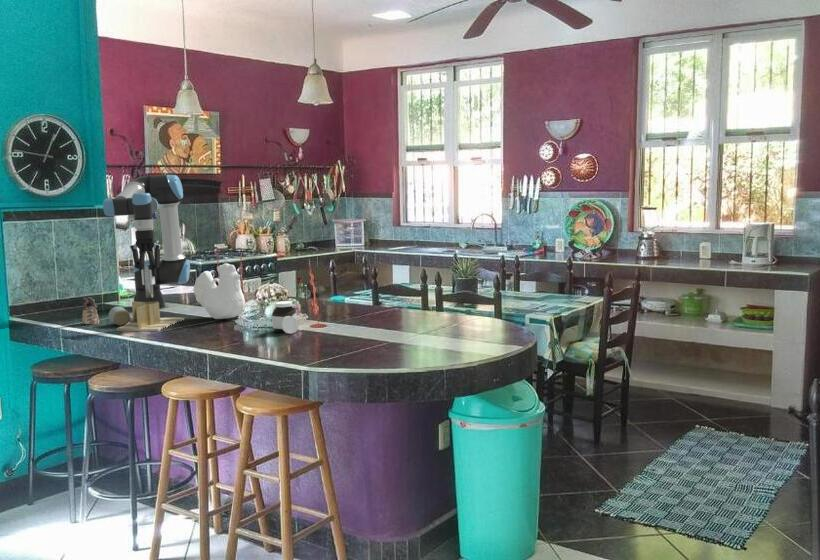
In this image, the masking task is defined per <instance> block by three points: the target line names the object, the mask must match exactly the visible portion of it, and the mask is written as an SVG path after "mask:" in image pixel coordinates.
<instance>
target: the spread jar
mask: <svg viewBox="0 0 820 560" xmlns="http://www.w3.org/2000/svg"><path fill="white" fill-rule="evenodd" d="M274 304H275V305H274V306H275V307H274V308H273V311H272V314H271V315H272V316H271V320H272V321H271V322H272V329H273V330H274V331H275V332H277V333H284V334H289V335H290V334H294V333H296V332H297V331H298V330H299V322H298V315H297V309H295V307H293V301H292V300H291V301H290V300H284V301H283V300H282V301H277V302H275V303H274Z"/></svg>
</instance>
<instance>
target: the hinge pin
mask: <svg viewBox="0 0 820 560" xmlns="http://www.w3.org/2000/svg"><path fill="white" fill-rule="evenodd" d="M150 268H151V267H150V264H145V265H144V277H145V289H146V297H147V298H150V297H154V296H153V285H150V273H149V270H150Z"/></svg>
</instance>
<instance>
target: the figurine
mask: <svg viewBox="0 0 820 560" xmlns="http://www.w3.org/2000/svg"><path fill="white" fill-rule="evenodd" d="M82 299H83V301H84V302H83V304H82V308H83V310H82V315H81V316H82V317H81V319H82V320H81V322H82V325H83V324H86V325H85V326H88V325H87V324H94V325H98V324H100V323H101V322H100V321H101V320H100V318H99V314H98V310H97V309H98V306H97V304H96V302H95V299H94V298H92V297H90V296H87V297H83V298H82ZM99 322H100V323H99ZM97 323H98V324H97Z"/></svg>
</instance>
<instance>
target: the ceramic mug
mask: <svg viewBox="0 0 820 560" xmlns="http://www.w3.org/2000/svg"><path fill="white" fill-rule="evenodd" d="M108 319H109V321H110V322H111V323H112V324H115V325H116V326H119V327H122V325H123V326H124V325H127V324H129V323H132V322H134V321H133V317H131V316H130V313H129V312H128V310H126V309H125V308H124V307H121V306H114V307H112V308H111V309H110V310H109V312H108Z"/></svg>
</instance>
